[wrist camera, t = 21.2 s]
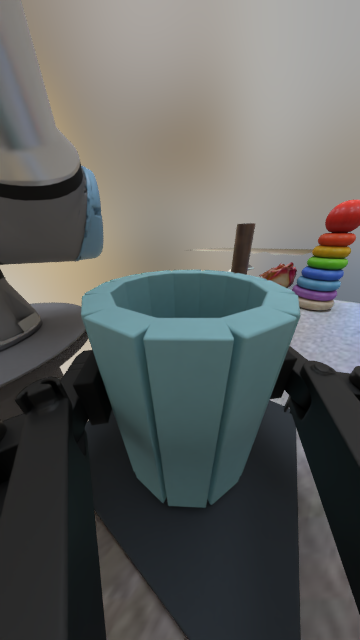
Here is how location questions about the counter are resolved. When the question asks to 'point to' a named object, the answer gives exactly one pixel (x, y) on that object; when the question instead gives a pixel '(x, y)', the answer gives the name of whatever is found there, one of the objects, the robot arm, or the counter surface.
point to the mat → (212, 537)
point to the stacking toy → (328, 258)
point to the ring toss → (242, 248)
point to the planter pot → (189, 372)
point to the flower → (281, 275)
